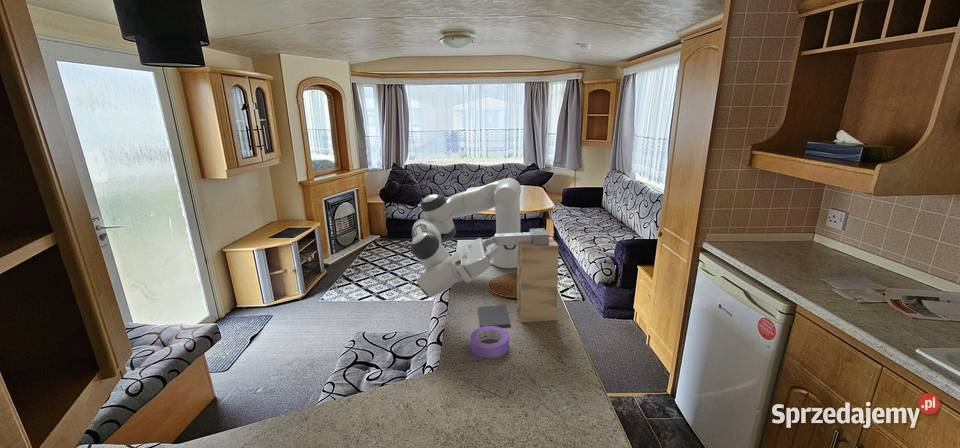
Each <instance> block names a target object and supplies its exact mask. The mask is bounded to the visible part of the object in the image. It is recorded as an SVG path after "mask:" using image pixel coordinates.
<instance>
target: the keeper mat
mask: <svg viewBox="0 0 960 448" xmlns="http://www.w3.org/2000/svg"><path fill="white" fill-rule="evenodd" d="M477 309H478V311H477V312H478V317H479V318H478V319H479V326H480V327H484V326H496V327H500V328H502V327H511V320H510V317H509V314H508V310H507V305H506V304H504V305H503V304H502V305H500V304H499V305H486V306H477ZM480 327H479V328H480Z"/></svg>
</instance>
